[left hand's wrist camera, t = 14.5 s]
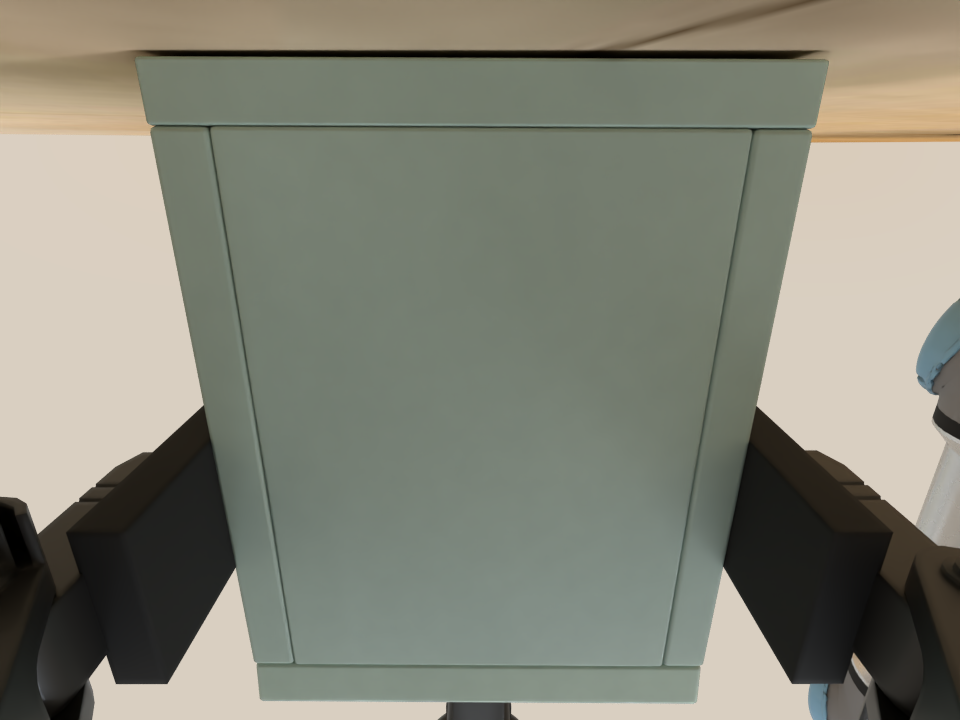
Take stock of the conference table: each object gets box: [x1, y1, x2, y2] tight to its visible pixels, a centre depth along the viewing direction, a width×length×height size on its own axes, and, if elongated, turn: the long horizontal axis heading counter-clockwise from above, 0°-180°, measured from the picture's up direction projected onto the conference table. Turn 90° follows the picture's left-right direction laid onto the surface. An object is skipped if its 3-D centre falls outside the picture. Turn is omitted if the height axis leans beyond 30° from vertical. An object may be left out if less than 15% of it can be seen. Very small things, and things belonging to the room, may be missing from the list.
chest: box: [135, 56, 829, 666], centre depth 17 cm, size 18×9×11 cm, turn 0°
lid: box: [257, 659, 700, 704], centre depth 21 cm, size 18×9×8 cm, turn 0°
